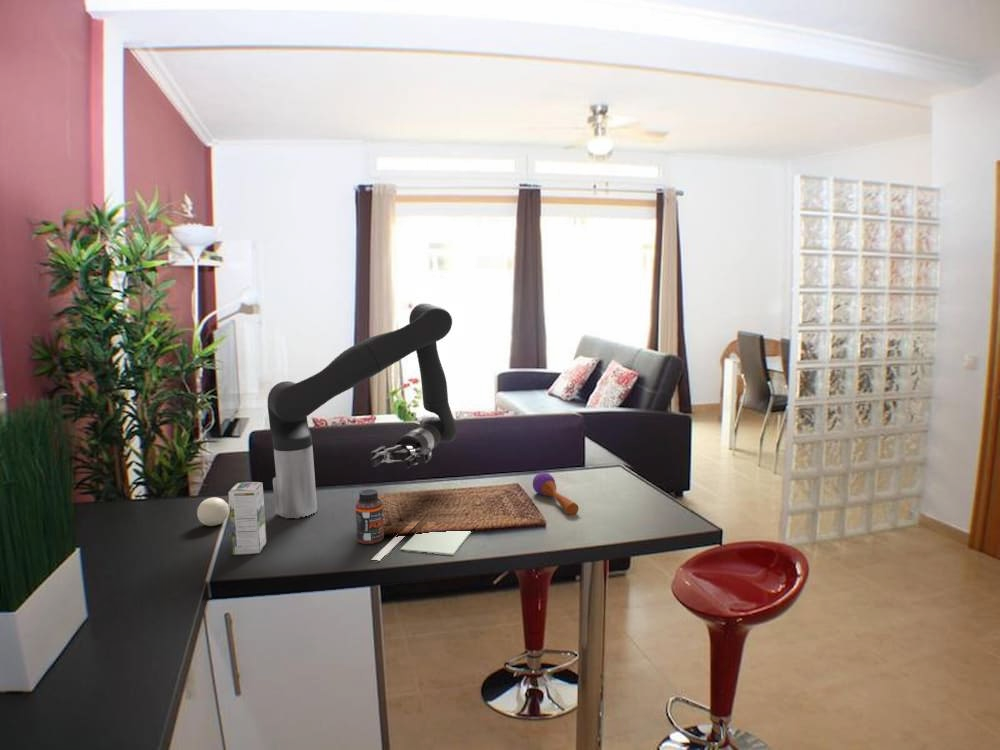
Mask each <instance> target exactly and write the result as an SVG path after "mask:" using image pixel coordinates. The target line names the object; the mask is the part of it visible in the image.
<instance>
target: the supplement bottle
mask: <svg viewBox="0 0 1000 750" xmlns="http://www.w3.org/2000/svg"><path fill="white" fill-rule="evenodd" d="M358 494H359V495H358V498H359V500H357V501H356V503H355V521H356V522H355V523H356V524H355V525H356V539H357V541H358V543H360V544H363V545H374V543H375V544H378V543H380V542H381V541H383V539H384V538H385V537H384V536H385V532H384V529H385V527H384V510H383V501H382V500H381V498H379V495H378V490H377V489H374V488H370V489H369V488H368V489H362V490H361V491H359V493H358Z"/></svg>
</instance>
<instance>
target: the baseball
mask: <svg viewBox="0 0 1000 750" xmlns="http://www.w3.org/2000/svg"><path fill="white" fill-rule="evenodd" d="M229 512H230V505H229V503H227V502H226V501H225V500H224V499H223V498H221V497H220V498H219V497H216V496H214V497H208V498H206V499H204V500H203V501H202V502H200V504H199V505H198V508H197V511H196V515H197V519H198V520H199V522H200V523H201V524H203V525H205V526H209V527H215V526H218V525H221V524H223V523H224V522H225V520H227V517H228V516H229Z"/></svg>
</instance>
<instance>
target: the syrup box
mask: <svg viewBox="0 0 1000 750" xmlns="http://www.w3.org/2000/svg"><path fill="white" fill-rule="evenodd" d="M263 483H264V482H259V481H243V482H238V483H236V484H235V485H234V486H233V487H232V488H231V489H230V490H229V491H228V500H229V501H228V502H229V503H228V506H229V517H230V531H231V543H232V544H231V545H232V555H234V556H236V555H237V556H238V555H252V554H260V553H261V552H262V550H263V548H264V547H265V546H266V545H267V543H268V542H267V541H268V540H267V530H266V529H267V528H266V516H265V515H266V514H265V513H266V511H265V498H264V487H263Z"/></svg>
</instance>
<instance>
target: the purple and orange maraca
mask: <svg viewBox="0 0 1000 750" xmlns="http://www.w3.org/2000/svg"><path fill="white" fill-rule="evenodd" d="M532 488H533V490H534V492H536V494H538V495H541V496H546V497H550V496H553V497H554V499H555V500H556V501H557V502H558V504H559V505H560V507H561V508H562V509H563V511H564V512H565V513H566V515H568V516H575V515H577V514H578V511H579V506H578V504H577V503H576V502H574V501H573V500H571V499H569V498H567V497H565V496H564V495H562V494H560V493H558V492H557V485H556V480H555V477H553V476H552V475H551V474H550V473H549V472H539V473H538V474H536V475H535V476H534V477H533V480H532Z"/></svg>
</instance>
